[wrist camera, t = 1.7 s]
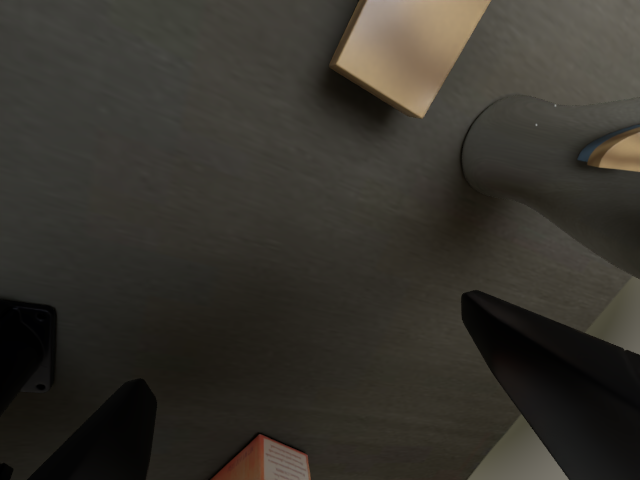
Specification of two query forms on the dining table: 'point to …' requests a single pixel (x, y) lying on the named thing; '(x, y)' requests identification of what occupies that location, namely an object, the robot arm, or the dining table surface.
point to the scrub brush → (405, 48)
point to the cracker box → (266, 462)
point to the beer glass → (565, 168)
